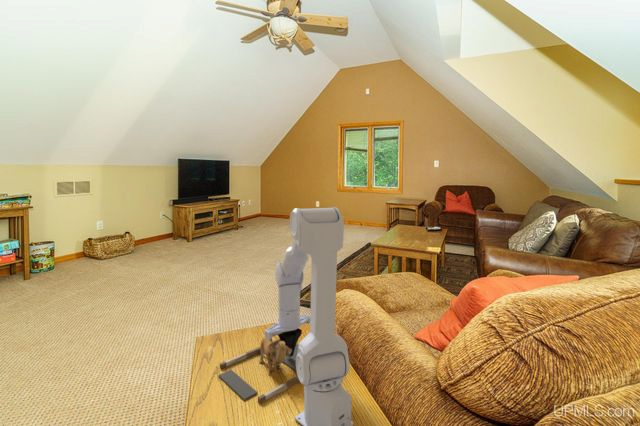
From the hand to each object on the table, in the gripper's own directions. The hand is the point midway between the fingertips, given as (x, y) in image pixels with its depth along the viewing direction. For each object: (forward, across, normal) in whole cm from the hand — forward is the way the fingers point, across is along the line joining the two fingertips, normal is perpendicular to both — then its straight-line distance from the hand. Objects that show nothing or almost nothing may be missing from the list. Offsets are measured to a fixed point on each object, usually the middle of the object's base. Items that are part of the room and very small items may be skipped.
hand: (288, 354), depth 91 cm
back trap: (+1, -2, 0) cm, 3 cm away
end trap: (+1, +16, 0) cm, 16 cm away
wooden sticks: (+1, +5, 0) cm, 5 cm away
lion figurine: (+2, +5, -1) cm, 5 cm away
